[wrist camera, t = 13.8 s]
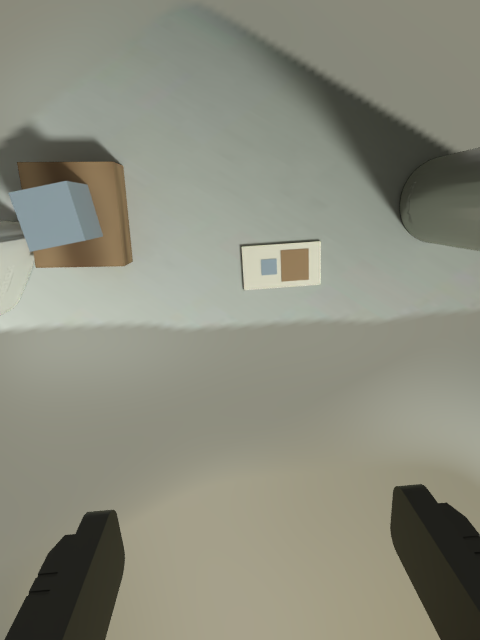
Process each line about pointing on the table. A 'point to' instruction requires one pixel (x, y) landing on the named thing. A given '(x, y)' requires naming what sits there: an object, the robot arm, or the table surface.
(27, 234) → the top brick
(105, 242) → the base brick
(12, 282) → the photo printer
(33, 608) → the robot arm
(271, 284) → the page
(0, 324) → the table surface
